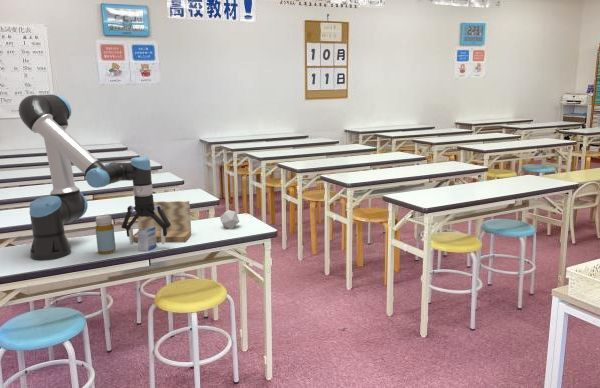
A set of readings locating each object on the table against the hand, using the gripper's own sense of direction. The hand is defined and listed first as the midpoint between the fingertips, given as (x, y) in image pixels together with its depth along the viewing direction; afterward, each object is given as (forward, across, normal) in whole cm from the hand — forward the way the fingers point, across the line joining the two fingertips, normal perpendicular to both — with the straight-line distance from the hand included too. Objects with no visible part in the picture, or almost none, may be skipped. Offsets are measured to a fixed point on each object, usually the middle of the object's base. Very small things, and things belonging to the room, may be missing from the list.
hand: (147, 243), depth 216 cm
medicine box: (+2, 0, 0) cm, 2 cm away
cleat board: (+2, +2, +14) cm, 14 cm away
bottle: (+2, -16, -4) cm, 17 cm away
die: (+2, +30, +32) cm, 44 cm away
